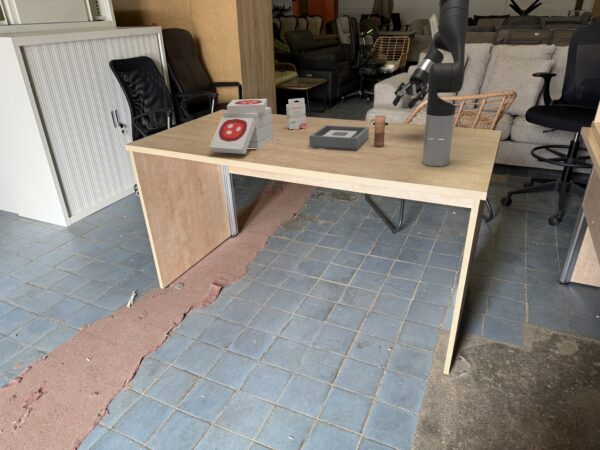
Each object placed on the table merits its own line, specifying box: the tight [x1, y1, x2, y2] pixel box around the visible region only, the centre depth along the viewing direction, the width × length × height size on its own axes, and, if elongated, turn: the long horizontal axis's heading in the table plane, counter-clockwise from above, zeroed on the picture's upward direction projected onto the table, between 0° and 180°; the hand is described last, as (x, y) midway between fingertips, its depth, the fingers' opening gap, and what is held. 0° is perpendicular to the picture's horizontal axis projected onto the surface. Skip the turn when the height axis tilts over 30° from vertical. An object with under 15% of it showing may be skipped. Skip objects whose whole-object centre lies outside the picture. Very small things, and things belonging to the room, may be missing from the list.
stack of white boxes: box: [209, 98, 274, 155], centre depth 175 cm, size 19×30×18 cm, turn 158°
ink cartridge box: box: [285, 97, 307, 130], centre depth 204 cm, size 9×5×15 cm, turn 105°
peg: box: [373, 115, 386, 149], centre depth 170 cm, size 4×4×12 cm
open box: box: [308, 124, 370, 152], centre depth 178 cm, size 20×20×5 cm
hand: (401, 106), depth 171 cm, fingers open, 8 cm apart
